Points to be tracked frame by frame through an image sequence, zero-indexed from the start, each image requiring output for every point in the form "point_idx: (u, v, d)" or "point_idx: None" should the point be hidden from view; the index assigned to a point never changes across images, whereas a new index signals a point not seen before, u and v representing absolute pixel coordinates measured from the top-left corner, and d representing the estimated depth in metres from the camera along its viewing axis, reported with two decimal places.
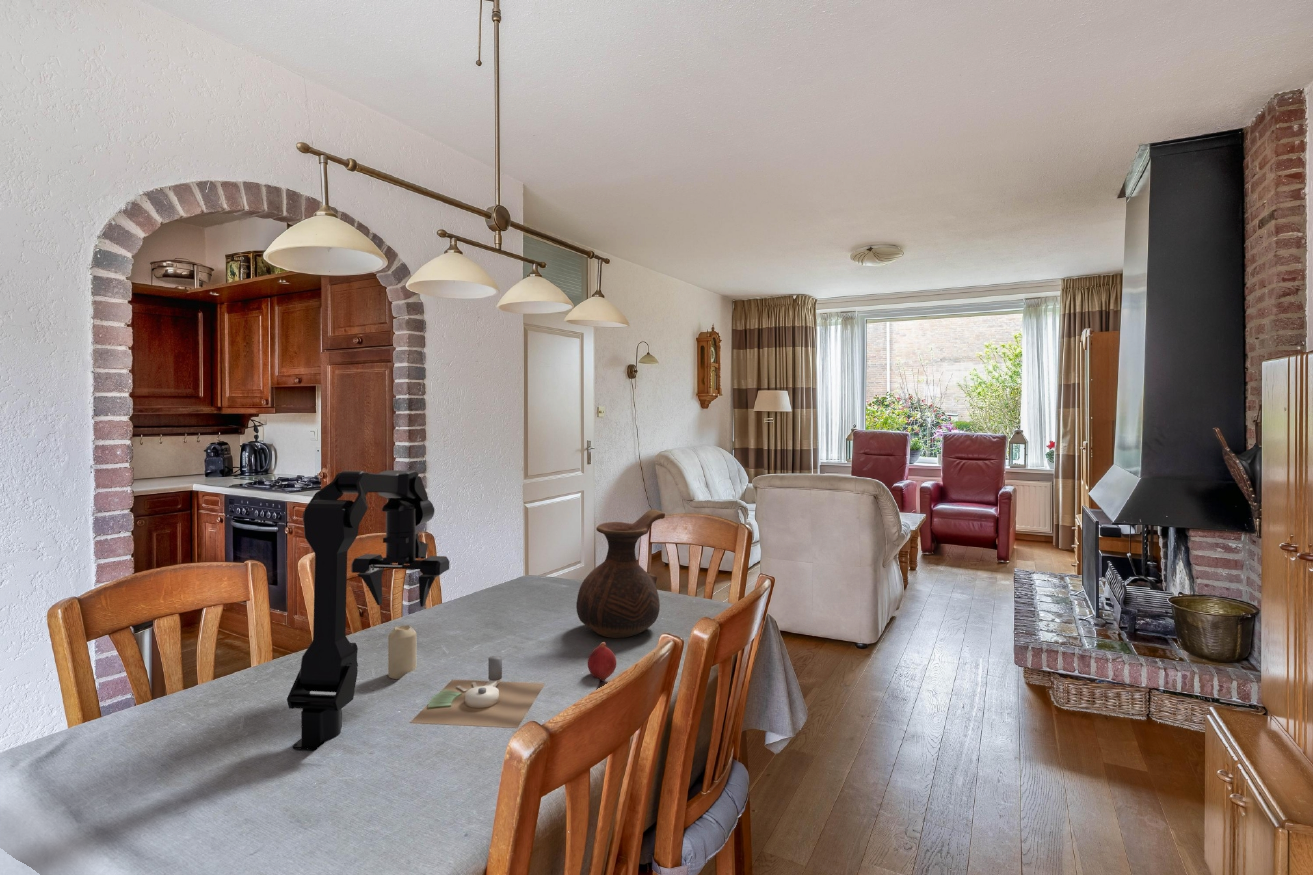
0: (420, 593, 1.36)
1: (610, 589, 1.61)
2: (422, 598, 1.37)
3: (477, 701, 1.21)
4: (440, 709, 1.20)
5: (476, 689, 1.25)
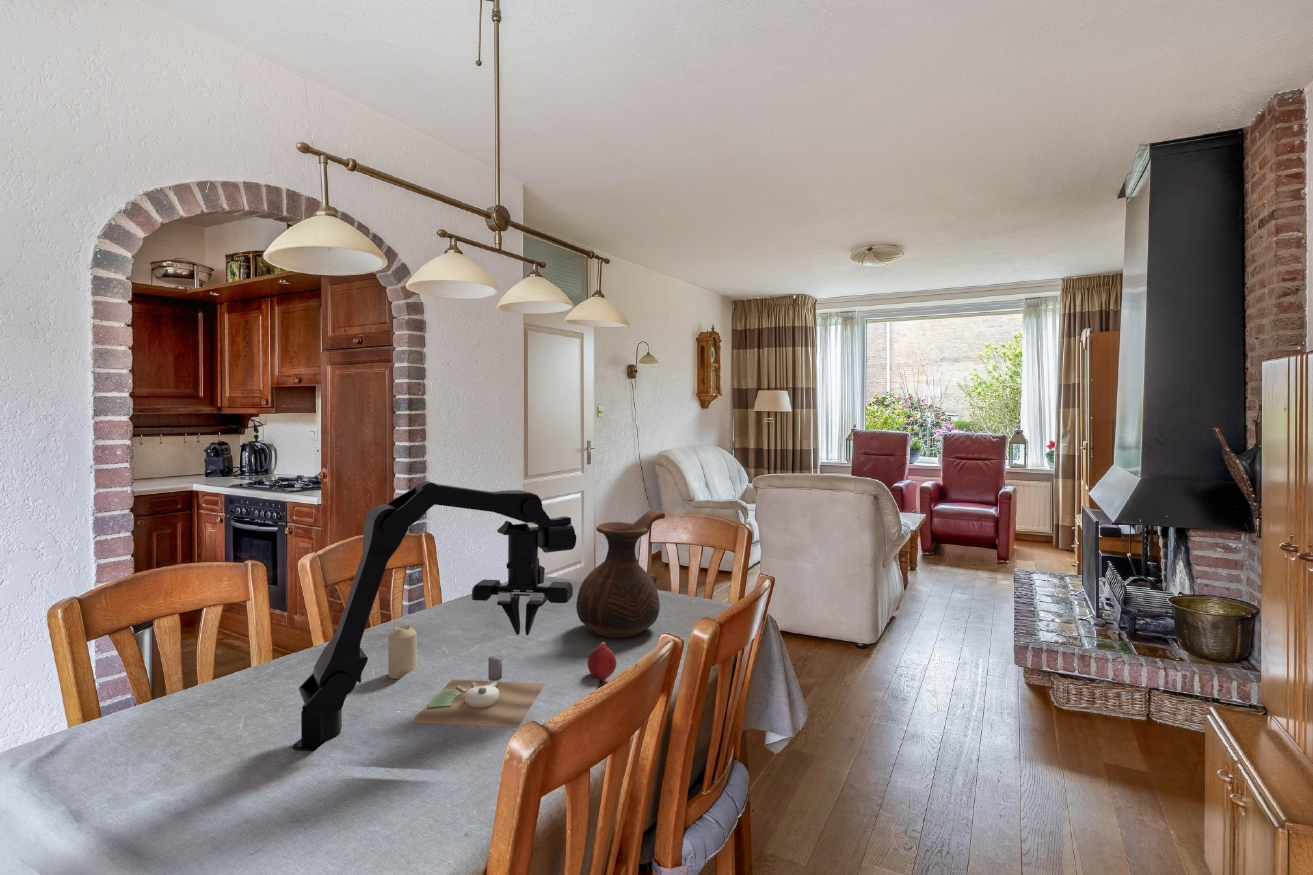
0: (526, 621, 1.28)
1: (610, 589, 1.61)
2: (528, 626, 1.29)
3: (477, 701, 1.21)
4: (440, 709, 1.20)
5: (476, 689, 1.25)
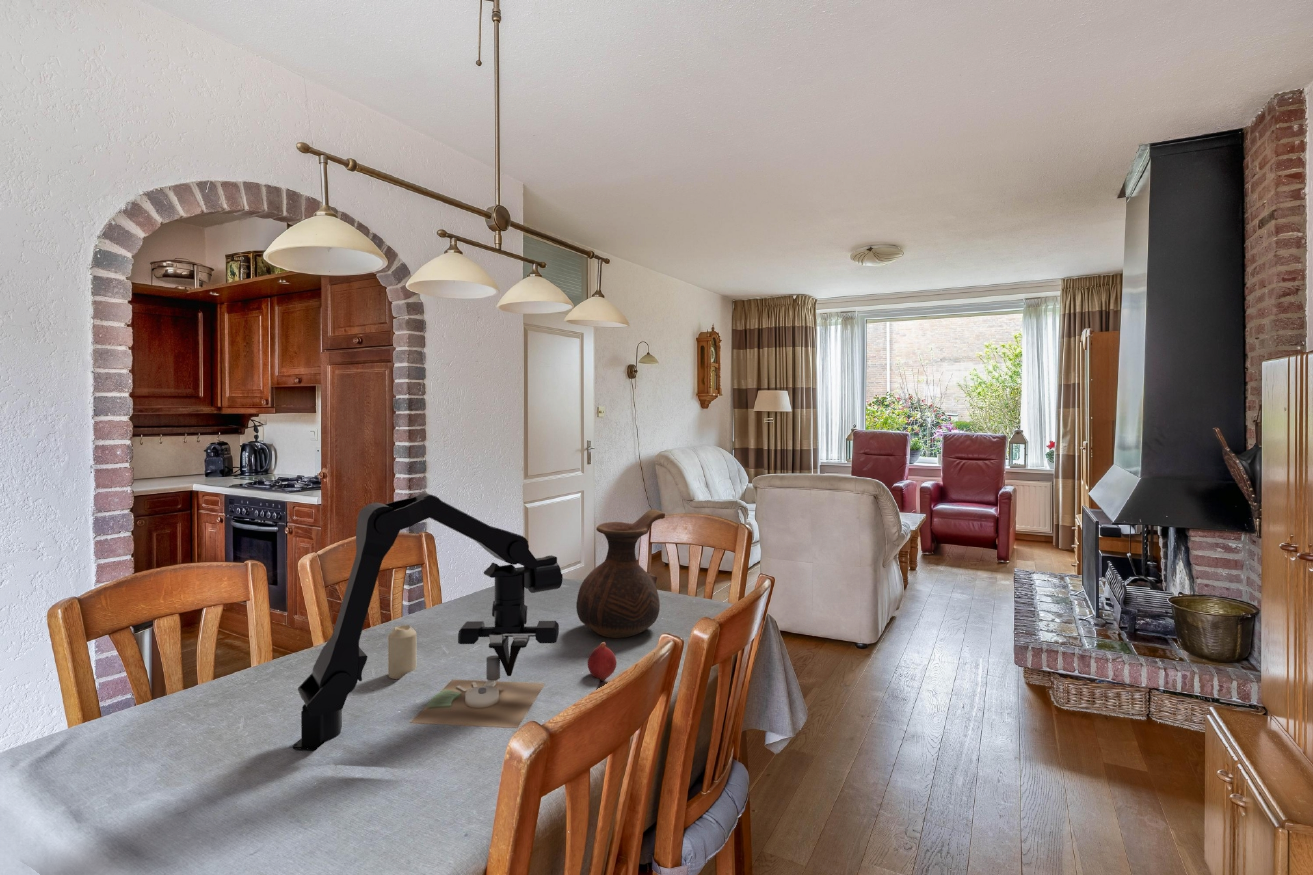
0: (510, 662, 1.29)
1: (610, 589, 1.61)
2: (512, 667, 1.29)
3: (477, 701, 1.21)
4: (440, 709, 1.20)
5: (476, 689, 1.25)
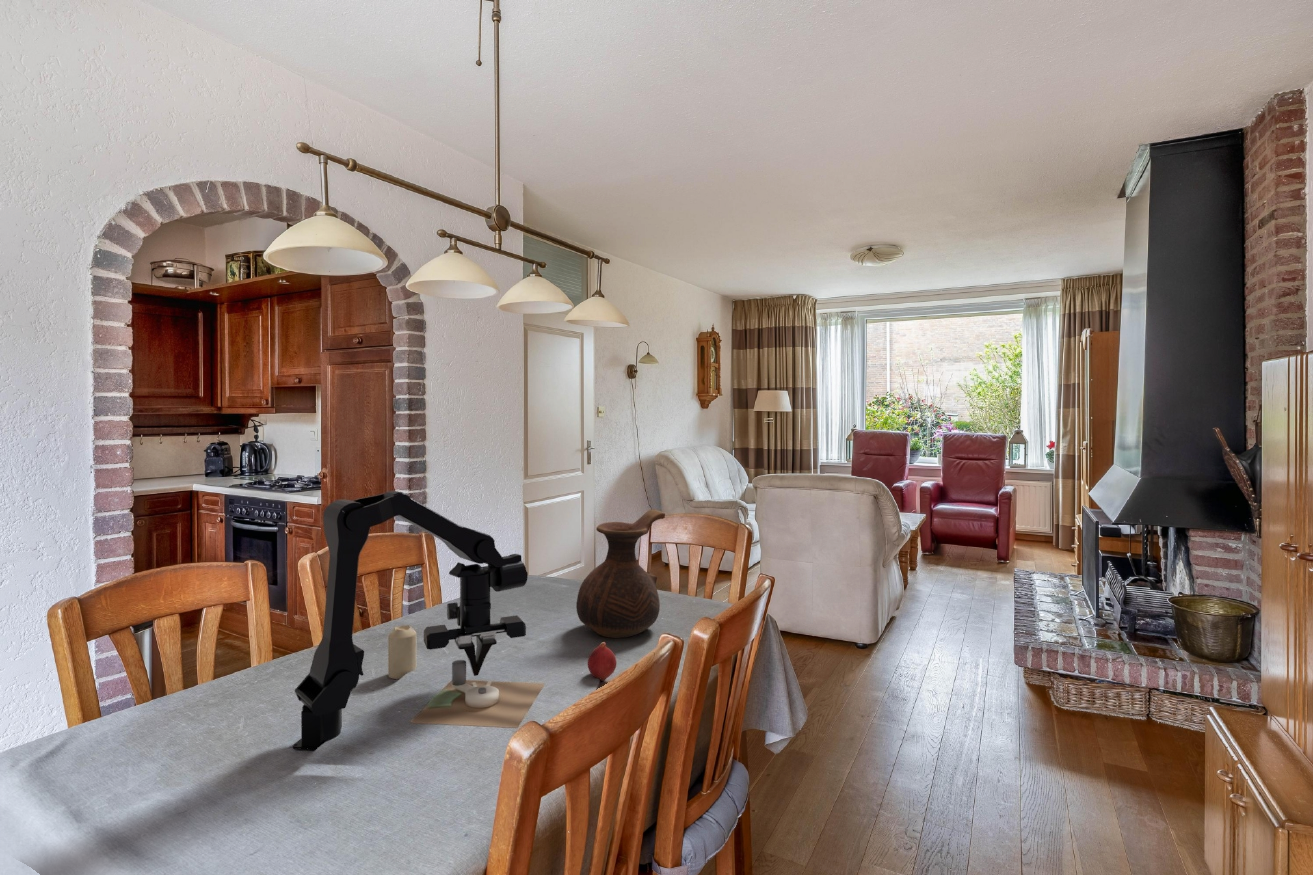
0: (479, 661, 1.29)
1: (610, 589, 1.61)
2: (480, 666, 1.29)
3: (492, 698, 1.22)
4: (440, 709, 1.20)
5: (471, 693, 1.23)
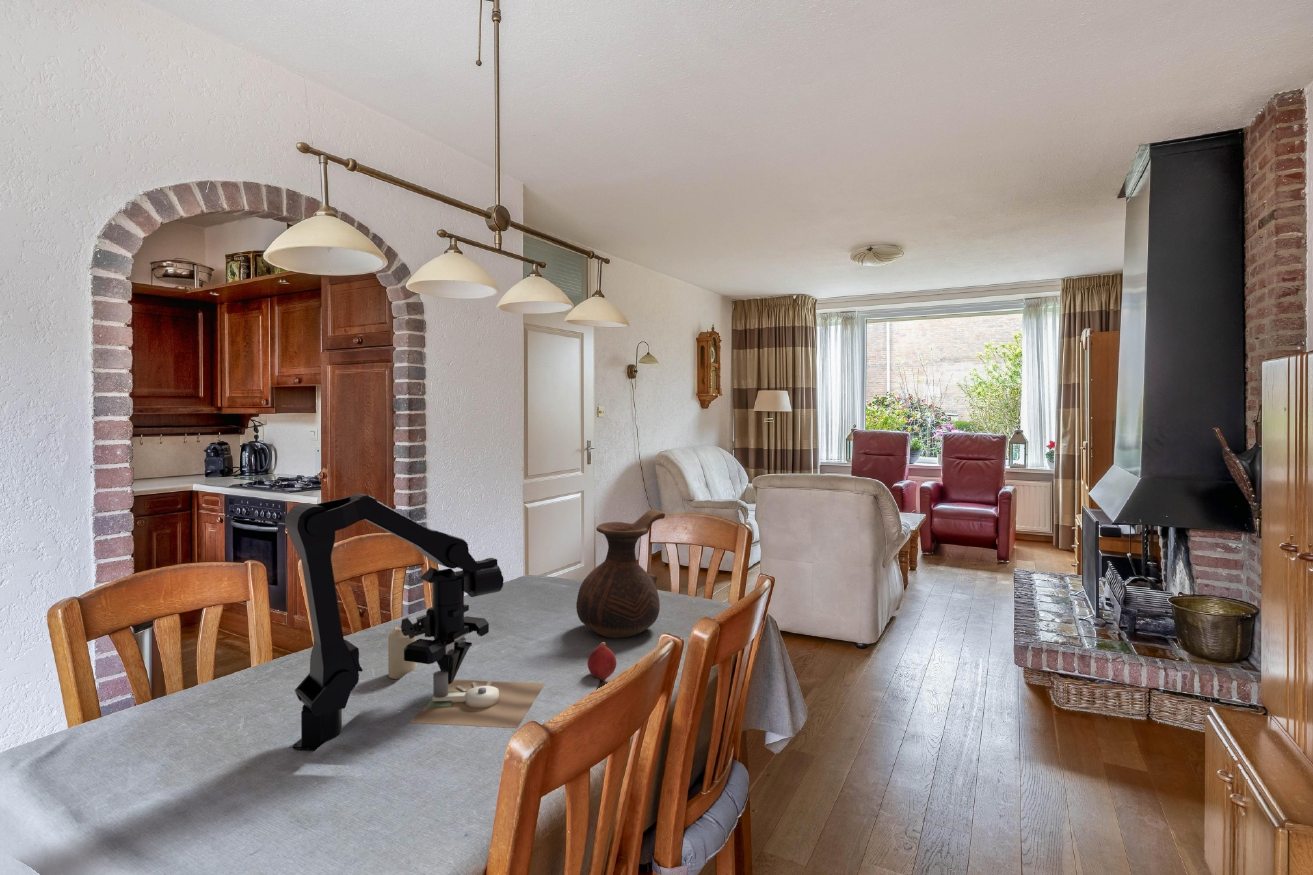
0: (457, 667, 1.26)
1: (610, 589, 1.61)
2: (456, 672, 1.26)
3: (498, 693, 1.24)
4: (440, 709, 1.20)
5: (474, 695, 1.22)
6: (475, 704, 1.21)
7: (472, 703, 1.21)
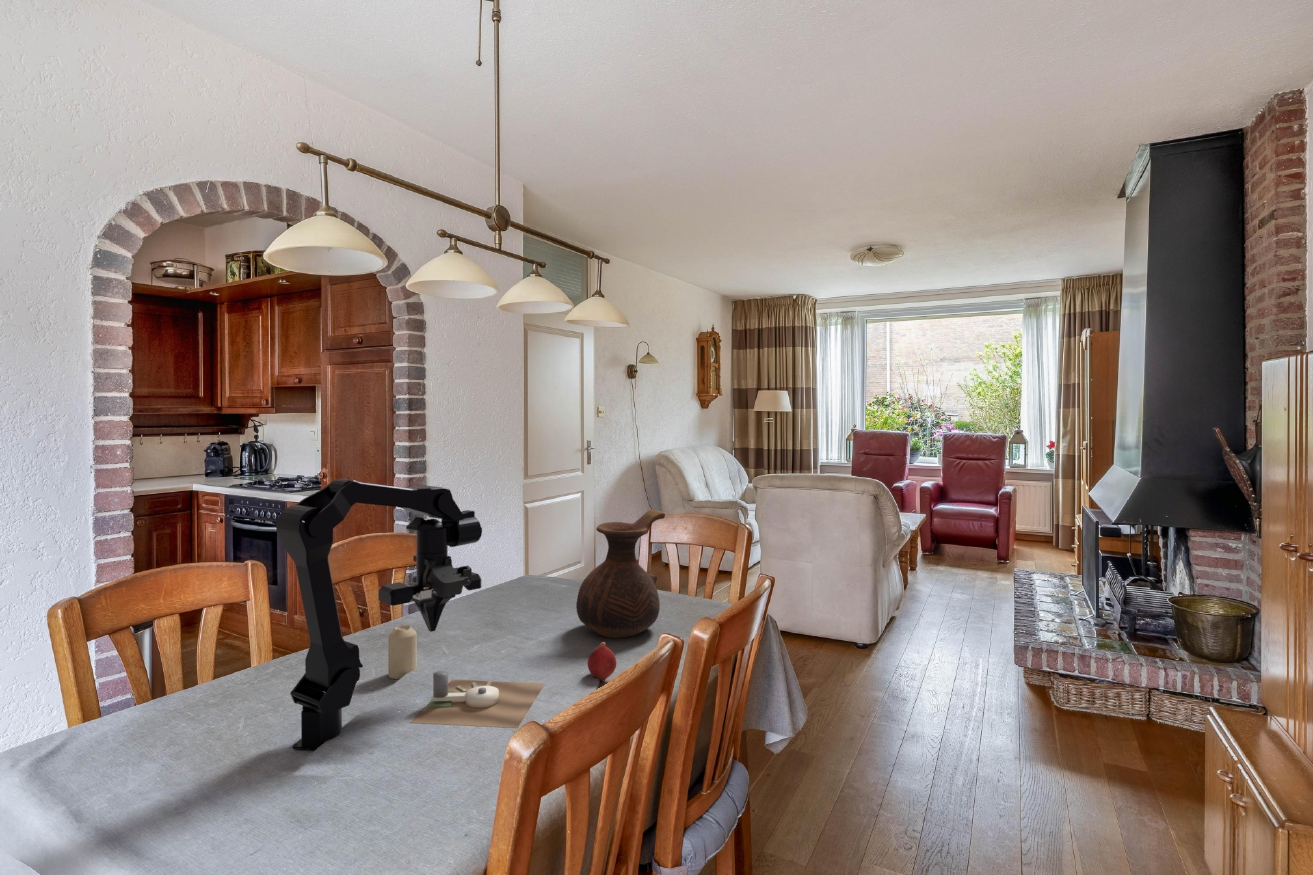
0: None
1: (610, 589, 1.61)
2: None
3: (498, 693, 1.24)
4: (440, 709, 1.20)
5: (474, 695, 1.22)
6: (475, 704, 1.21)
7: (472, 703, 1.21)
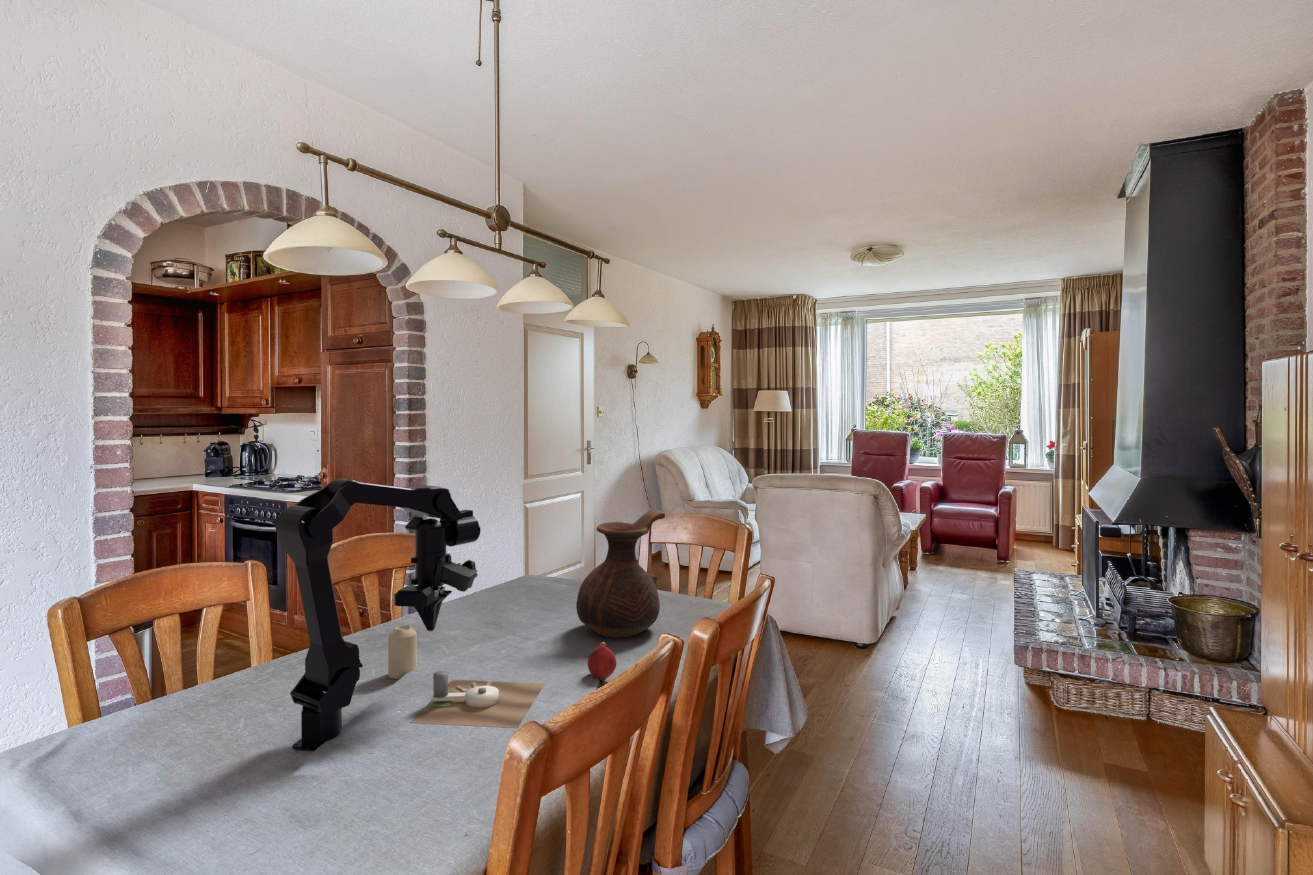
0: None
1: (610, 589, 1.61)
2: None
3: (498, 693, 1.24)
4: (440, 709, 1.20)
5: (474, 695, 1.22)
6: (475, 704, 1.21)
7: (472, 703, 1.21)
